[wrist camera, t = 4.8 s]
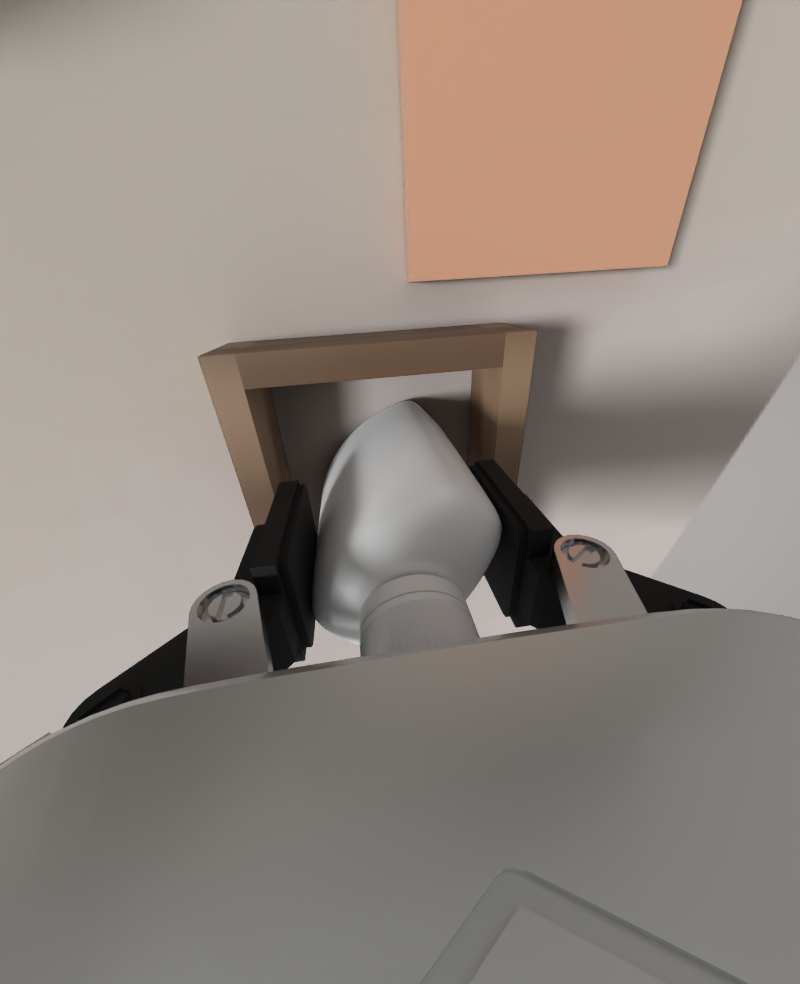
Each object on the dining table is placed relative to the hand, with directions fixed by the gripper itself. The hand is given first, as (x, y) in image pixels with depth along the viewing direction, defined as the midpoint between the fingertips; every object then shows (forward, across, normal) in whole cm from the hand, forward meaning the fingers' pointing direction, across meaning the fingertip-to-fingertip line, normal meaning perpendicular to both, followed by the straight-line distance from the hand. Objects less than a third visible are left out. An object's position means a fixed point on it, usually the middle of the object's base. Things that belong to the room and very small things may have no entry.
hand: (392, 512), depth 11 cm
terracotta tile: (+4, -6, -11) cm, 13 cm away
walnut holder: (+4, 0, 0) cm, 4 cm away
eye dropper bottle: (+5, 0, 0) cm, 5 cm away
